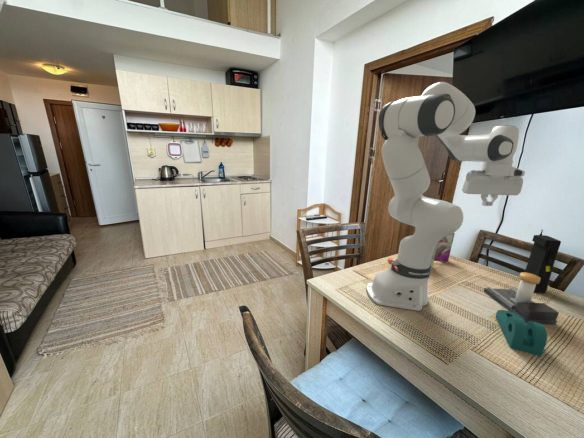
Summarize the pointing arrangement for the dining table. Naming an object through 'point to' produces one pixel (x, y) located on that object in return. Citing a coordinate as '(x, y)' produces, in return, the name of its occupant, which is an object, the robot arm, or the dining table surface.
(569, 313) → the dining table surface
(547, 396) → the dining table surface
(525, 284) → the knob
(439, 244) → the wafer cookie box
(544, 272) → the portable radio
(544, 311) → the mount
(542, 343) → the bracket
